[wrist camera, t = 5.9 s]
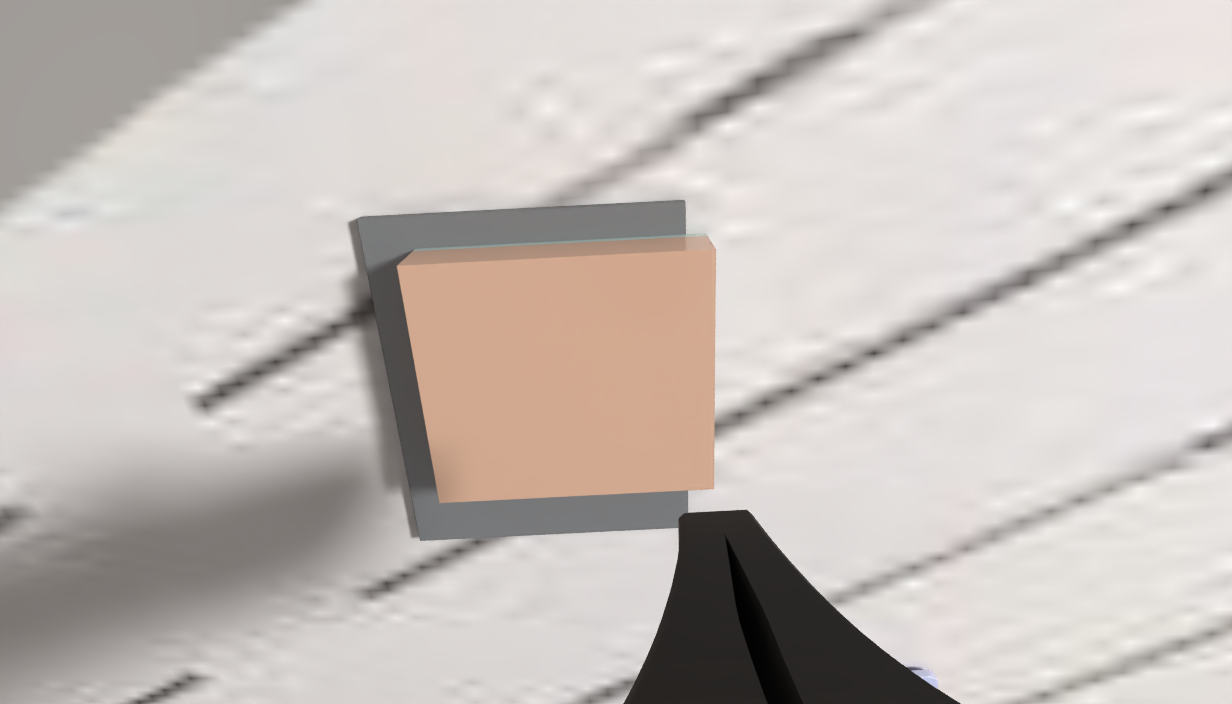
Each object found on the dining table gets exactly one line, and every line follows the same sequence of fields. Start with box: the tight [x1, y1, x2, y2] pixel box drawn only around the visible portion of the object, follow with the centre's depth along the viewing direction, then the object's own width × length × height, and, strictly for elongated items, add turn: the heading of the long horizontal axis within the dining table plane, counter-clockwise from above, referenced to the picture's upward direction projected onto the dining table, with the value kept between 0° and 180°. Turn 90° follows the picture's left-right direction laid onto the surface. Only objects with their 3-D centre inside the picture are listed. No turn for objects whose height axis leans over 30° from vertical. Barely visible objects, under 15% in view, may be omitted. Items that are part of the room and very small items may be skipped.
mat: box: [357, 200, 688, 541], centre depth 23 cm, size 12×10×1 cm
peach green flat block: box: [397, 234, 716, 503], centre depth 21 cm, size 8×2×9 cm
